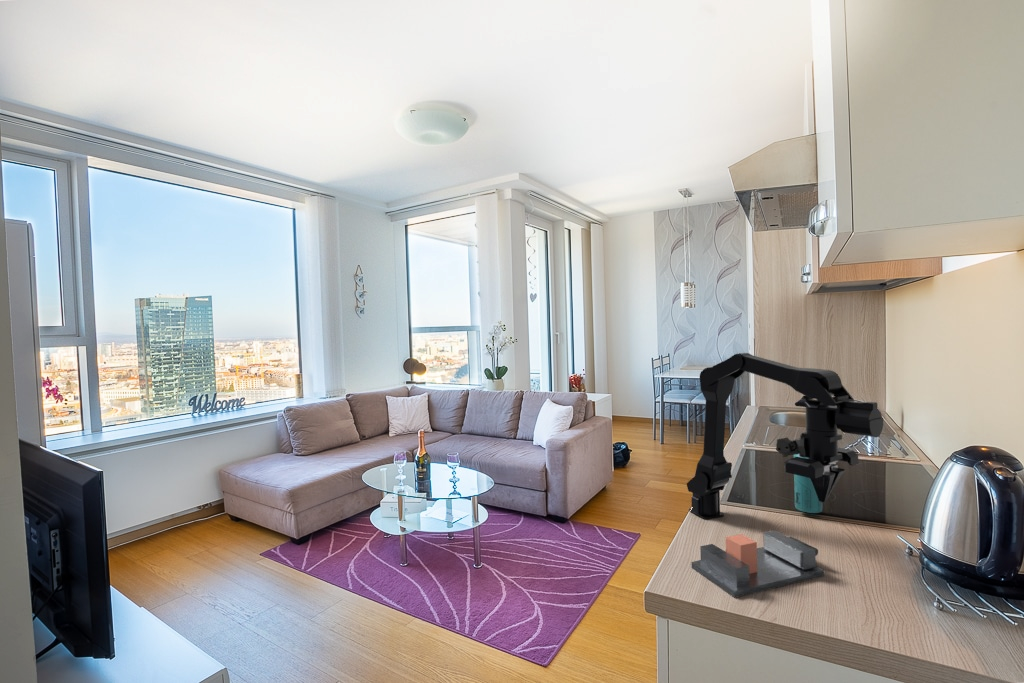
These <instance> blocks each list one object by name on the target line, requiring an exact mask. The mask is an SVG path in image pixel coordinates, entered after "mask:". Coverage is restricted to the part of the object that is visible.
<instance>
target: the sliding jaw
mask: <svg viewBox="0 0 1024 683" xmlns="http://www.w3.org/2000/svg"><path fill="white" fill-rule="evenodd" d="M762 534H763V541H762V542H763V547H764V549H766V550H768V551H770V552H771V553H773V554H775V555H777V556H779V557H781V558H783V559H785V560H787V561H789V562H790V563H792V564H794V565H796V566H798V567H800V568H802V569H804V570H805V569H810V568H814V567H816V566H817V564H816V562H817V560H816V557H817V555H818V554H819V550H818V548H817V547H815V546H812V545H810V544H807V543H806V542H804V541H802V540H799V539H797V538H795V537H793V536H787V535H784V534H783V533H781V532H779V531H777V530H775V529H773V530H769V531H765V532H763V533H762Z"/></svg>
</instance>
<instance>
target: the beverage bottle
mask: <svg viewBox="0 0 1024 683" xmlns="http://www.w3.org/2000/svg"><path fill="white" fill-rule="evenodd" d="M798 439H800V437H799V438H798ZM795 457H800V456H799V454H795V455H793V458H795ZM801 458H804V457H801ZM805 458H806V459H808V458H807V457H805ZM793 478H794V480H793V482H794V483H793V484H794V485H793V488H794V489H793V495H794V503H793V505H794V507H795V509H796V510H798V511H801V512H804V513H810V514H819V513H821V512H823V508H824V507H823V502H821V501H819V499H818V497H817V494H816V491H815V489H814V486H813V483H812V481H811V479H810V478H807V477H803V476H799V475H795V474H793Z"/></svg>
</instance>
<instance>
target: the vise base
mask: <svg viewBox="0 0 1024 683" xmlns="http://www.w3.org/2000/svg"><path fill="white" fill-rule="evenodd" d="M690 563H691V568H692V569H693V570H694V571H695V572H697V573H699V574H700V575H702V576H703V577H705V579H707V580H709V582H711V583H713V584H714V585H716V586H717V587H719V589H721V590H723V591H724V592H726V593H727V594H729V595H730V596H731V595H732V596H731V597H732V598H734V599H735V597H736V598H739V596H740V597H743V596H748V595H752V594H755V593H761V592H763V591H768V590H773V589H777V588H781V587H783V586H788V585H792V584H796V583H797V584H798V583H802V582H805V581H809V580H813V579H818V578H822V577H824V576H825V570H824V569H823V568H821V567H819V566H817V565H816V567H814V568H810V569H805V570H804V569H802V568H800V567H798V566H796V565H794V564H792V563H790V562H789V561H787V560H785V559H783V558H781V557H779V556H777V555H775V554H773V553H771V552H770V551H768V550H766V549H764V546H762V547H757V572H755V573H751V574H749V565H747V564H746V563H744V562H742V561H740V560H739V559H737V558H735V557H734V556H732V555H730V554H729V553H727V552H726V550H723V549H722V548H721V547H718V546H717V545H716V544H713V543H710V544H705V545H704V544H703V545H700V560H695V561H691V562H690Z"/></svg>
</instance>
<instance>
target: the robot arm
mask: <svg viewBox="0 0 1024 683" xmlns="http://www.w3.org/2000/svg"><path fill="white" fill-rule="evenodd" d="M745 373H749V374H752V375H756V376H758V377H759V376H760V377H762V378H766V379H769V380H772V381H775V382H778V383H782V384H785V385H787V386H789V387H791V388H792V389H793V390H794V391H795V392H796V393H797V392H798V393H799V394H801V395H803V396H802V397H801V398H800V399H799V400H797V401H796V402H795V403H794V405H795V407H800V408H805V432H801V434H800V437H799V438H800V439H799V438H796V439H790V438H788V437H783V438H778V439H776V444H775V445H776V448H775V450H776V451H777V452H778V454H781V456H782V458H787V457H788V456H794V455H795V454H799V456H800V457H795V458H794V457H792V458H788V459H787V460H786V461H784V462H783V463H784V469H783V470H784V472H785V473H787V474H791V475H794V474H795V475H799V476H803V477H807V478H810V479H811V481H812V483H813V486H814V489H815V491H816V494H817V497H818V499H819V501H821V502H822V503H826V502H827V501H828V498H829V497H830V496H831V493H832V492H833V489H835V486H836V485H837V483H838V482H839V480H840V478H841V477H842V475H843V474H844V473H845V472H846V469H845V468H841V467H839V466H838V464H837V463H838V462H845V463H846V462H847V464H848V465H849V466H852V467H853V466H856V465H859V454H858V453H856V452H855V450H851V449H846V448H842V447H839V444H838V443H839V441H841V440H843V434H841V433H838V432H839V431H838V430H840V431H841V432H842V433H845V434H851V435H856V436H857V435H858V436H862V437H863V436H864V437H871V438H878V437H880V435H881V433H882V431H883V428H884V417H883V416H882V412H881V410H880V409H879V408H878V403H877V401H876V402H875V401H858V400H857V401H856V400H855V399H854V398H853V396H852V395H851V394H850V393H849V391H848V390H847V389H846V388H845V386H844V385H843V383H842V380H841V378H840V376H839V374H838V373H837V372H836V371H833V370H832V369H831V370H830V369H821V368H812V367H811V368H809V367H797V366H793V365H790V364H786V363H781V362H778V361H774V360H771V359H768V358H764V357H761V356H757V355H754V354H750V353H749V352H741V353H735V354H733V355H731V356H730V357H728V358H727V359H725V360H723V361H721V362H719V363H716V364H715V365H713V366H710V367H706V368H704V369H703V370H701V371H700V373H699V385H700V386H699V387H700V391H701V393H702V395H703V397H704V400H705V407H704V408H705V411H704V431H703V434H704V435H703V452H702V455H701V457H700V459H699V460H698V462H697V463H696V464H697V465H696V468H695V472H694V476H693V477H692V478H691V479H690V480H688V482H687V483H686V487H687V491H688V492H689V493H692V495H691V508H692V507H693V508H692V510H691V508H689V509H688V511H689V512H690V510H691V512H690V513H692V514H694V515H696V516H698V517H700V518H702V519H704V520H708V519H709V520H710V519H713V518H719V517H724V516H725V513H724V512H721V500H720V499H721V497H720V496H721V495H720V494H721V493H720V491H723V490H724V489H725V487H726V485H727V484H729V482H730V479H731V478H733V475H732V466H733V464H732V462H729V461H727V459H726V457H725V454H724V451H725V450H724V449H725V448H724V447H725V434H726V433H725V429H726V428H725V427H726V415H727V414H726V412H727V400H728V399H729V397H730V395H731V393H732V392H733V389H734V384H735V382H736V381H735V380H737V379H739V378H740V377H742V376H743V375H744V374H745ZM801 457H804V458H801ZM805 457H807V458H808V459H806V458H805Z"/></svg>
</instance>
